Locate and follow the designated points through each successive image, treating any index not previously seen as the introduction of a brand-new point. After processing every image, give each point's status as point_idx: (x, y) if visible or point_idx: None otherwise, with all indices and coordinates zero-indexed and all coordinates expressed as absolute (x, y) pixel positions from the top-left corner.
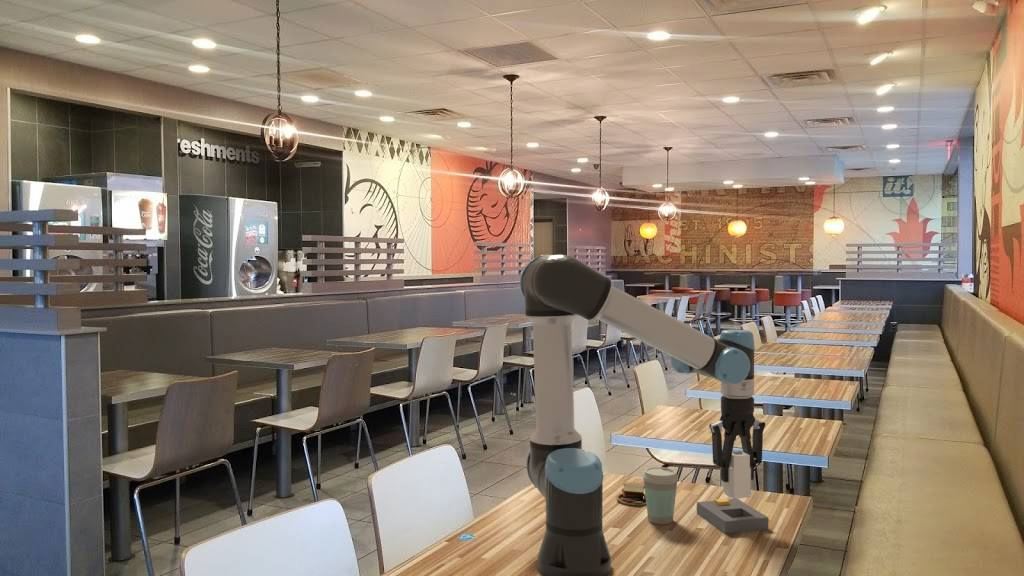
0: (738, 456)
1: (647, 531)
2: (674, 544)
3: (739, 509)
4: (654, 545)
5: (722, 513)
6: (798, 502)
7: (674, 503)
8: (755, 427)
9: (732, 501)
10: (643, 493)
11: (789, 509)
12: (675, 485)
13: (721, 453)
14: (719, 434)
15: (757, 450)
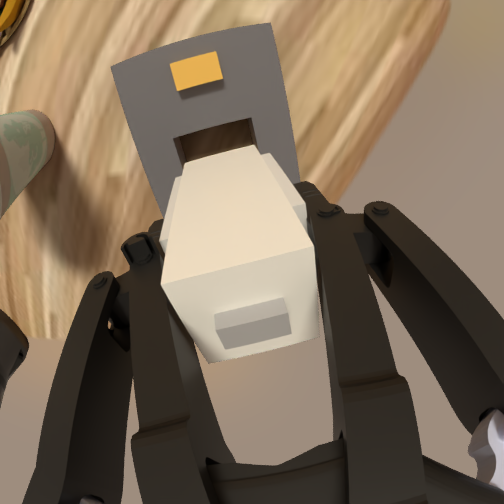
0: (238, 353)
1: (17, 214)
2: (71, 272)
3: (243, 117)
4: (43, 277)
5: (173, 169)
6: (437, 19)
7: (33, 166)
8: (474, 448)
9: (242, 48)
10: (3, 3)
11: (405, 50)
12: (3, 206)
13: (128, 376)
14: (109, 496)
15: (396, 312)
